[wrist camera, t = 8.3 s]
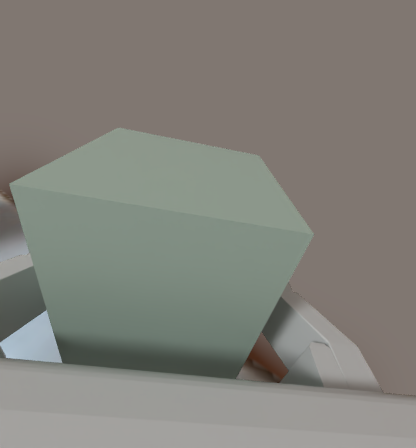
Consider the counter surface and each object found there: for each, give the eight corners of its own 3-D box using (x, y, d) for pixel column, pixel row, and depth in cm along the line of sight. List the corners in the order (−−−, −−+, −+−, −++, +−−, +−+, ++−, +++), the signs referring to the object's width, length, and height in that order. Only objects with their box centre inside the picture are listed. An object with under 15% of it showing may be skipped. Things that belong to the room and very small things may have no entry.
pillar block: (80, 422, 9) (9, 183, 3) (122, 311, 13) (118, 127, 8) (207, 431, 9) (314, 234, 4) (207, 321, 13) (259, 155, 8)
